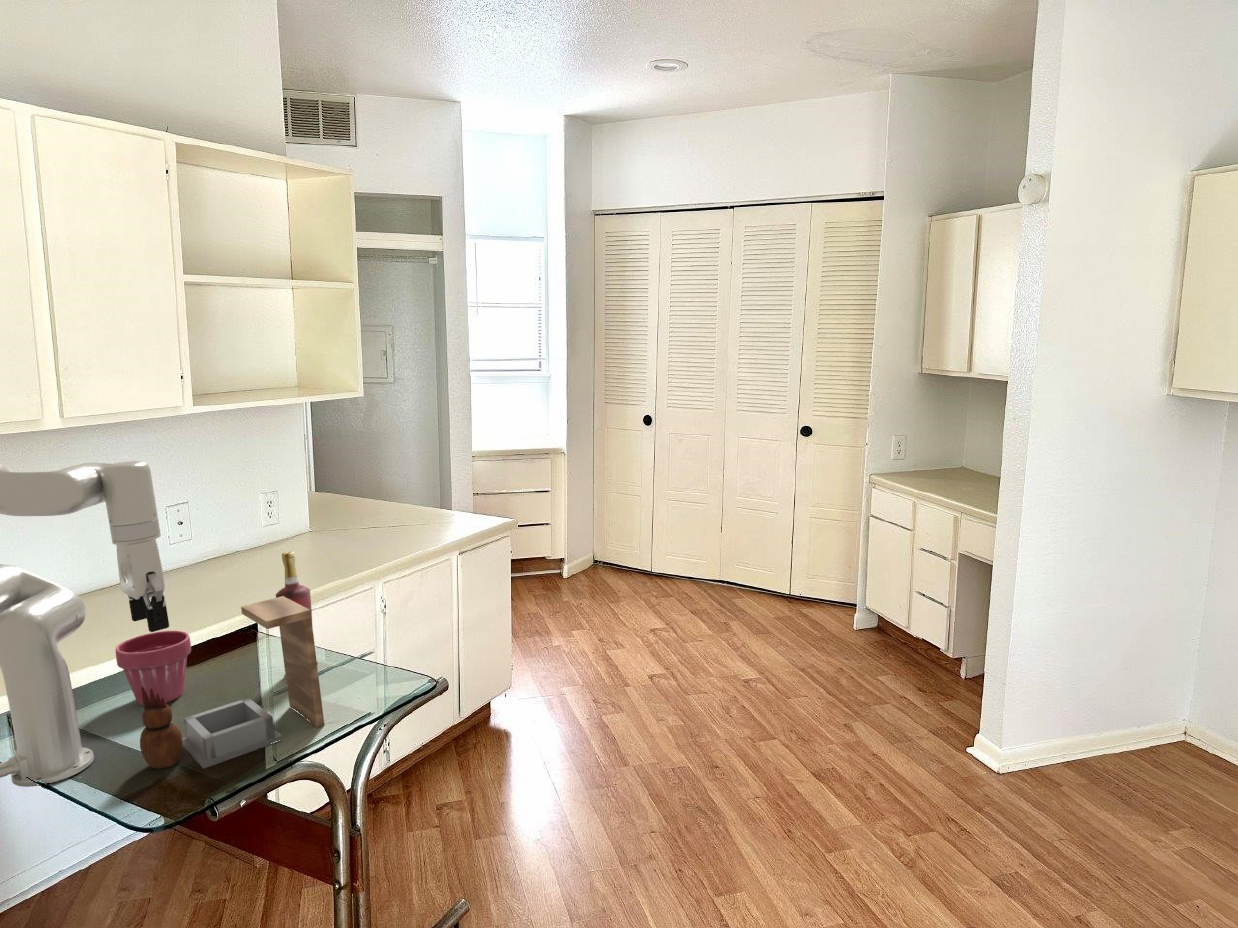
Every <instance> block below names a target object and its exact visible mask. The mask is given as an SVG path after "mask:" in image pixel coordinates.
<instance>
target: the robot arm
mask: <svg viewBox="0 0 1238 928" xmlns="http://www.w3.org/2000/svg"><path fill="white" fill-rule="evenodd" d="M152 477H153V476H152V470H151V468H150V465H149V464H148V463H147V462H145V461H142V460H129V461H128V460H127V461H120V462H115V463H105V462H85V463H84V462H83V463H81V464H76V465H72V466H71V465H70V466H67V467H64V468H60V469H58V470H53V471H51V470H50V471H31V472H30V471H26V472H25V471H24V472H23V471H20V472H17V471H10V470H9V469H8V468H7V467H6V466H4V465H3V464H1V463H0V515H5V516H12V517H46V516H47V517H50V516H51V517H54V516H55V517H57V516H63V515H64V516H66V515H71V514H73V513H76V512H79V511H82V510H84V509H87V508H90V507H93V506H96V505H98V504H102V503H105V507H106V511H107V512H106V513H107V519H108V524H109V531H110V532H109V533H110V536H111V537H110V538H111V542H112V543H111V544H112V545H116V559H117V567H118V576H119V585H120V590H121V592H122V593H124V594H126V595H127V597H128V599H129V600H128V603H129V609H130V615H131V621H133V622H138V621H143V620H146V622H147V628H148V631H149V633H154V632H159V631H162V630H166V629H168V628H169V627H170V621H169V615H168V610H167V602H166V600H165V599H166V598H165V595H164V592H165V590H166V587H165V579H164V578H165V577H164V572H163V567H162V566H163V565H162V562H161V556H160V551H159V547H158V543H157V539H158V538H160V537H161V529H160V523H159V515H158V509H157V504H156V497H155V491H154V485H153V478H152ZM86 608H87V607H86V605H85V603H84V600H83V599H82V598H81V597H80V596H79V594H78V593H76V592H75V591H74V590H71V589H70V588H68V587H66V586H64V585H61V584H59V583H57V582H54V581H52V580H50V579H47V578H45V577H43V576H40V575H38V574H36V573H34V572H31V571H28V570H27V569H23V568H21V567H18V566H15V565H10V564H0V671H1V674H2V677H3V681H4V687H5V692H6V697H7V700H8V705H9V706H8V707H9V711H10V716H11V717H10V718H11V722H12V723H11V724H12V728H13V735H14V739H15V745H16V750H15V751H14V752H13V753H14V756H12V757H8V760H6V761H3V762H0V779H1V778H5V777H7V776H10V779H11V782H12V784H13V785H15V786H18V787H24V788H25V787H27V788H29V787H37V786H41V785H37V784H36V783H34V782H33V781H35V782H38V781H41V782H44V783H50V784H53V783H57V782H59V781H62V780H65V779H68V778H70V777H73V776H74V775H77V774H78V773H80V772H82V771H83V770H85V769H87V768H88V767H89V766H90V765H91V764H92V763H93V761H94V760H95V756H94V752H93V750H91V749H90V748H88V747H83V745H82V741H81V740H82V738H81V734H80V733H81V732H80V726H79V723H78V722H79V721H78V717H77V711H76V704H75V699H74V694H73V693H74V692H73V686H72V680H71V676H70V670H69V667H68V664H67V662H66V659H65V658H64V656H63V655H62V653H61V652H60V650H59V648H58V644H59V643H60V642H61V641H63V640H64V639H65V638H68V637H69V636H70V635H72V634H73V633H75V632H76V631H77V630H78V629H79V628H81V626H82V625H83V623H84V622H85V619H86V616H87V609H86ZM26 777H28V778H30V779H31V780H33V781H31V780H30V779H28V778H26Z"/></svg>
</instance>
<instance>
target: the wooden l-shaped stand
mask: <svg viewBox="0 0 1238 928" xmlns="http://www.w3.org/2000/svg"><path fill="white" fill-rule="evenodd" d="M240 609H241V610H240V611H241V614H242V615H243V616H244V617H246V618H248V619H249V620H251V621H253V622H254V623H255V624H258V625H260V626H261V627H263V628H265V629H266V630H269V629H273V628H277V627H279V634H280V642H281V643H280V644H281V650H282V658H283V664H284V674H285V680H286V681H285V682H286V689H287V690H286V691H287V696H288V705H289V708H290V707H291V708H293V709H295V710H296V711H298V712H299V713H300V714H302V715H303V716H304V717H305V718H306V719H308V720H309V721H310V722H311V723H312V725H313V726H314V727H315V726H316V727H315V728H317V729H318V728H320V727H323V726H325V720H324V719H325V718H324V712H323V711H324V710H323V702H322V695H321V692H322V691H321V686H320V685H321V684H320V679H319V678H320V677H319V670H318V665H317V662H318V661H317V654H316V645H315V635H314V630H313V628H314V627H313V618H312V619H311V611H310V609H308V608H306V607H304V606H302V605H300V604H298V603H296V602H294V601H292V600H290V599H288V598H286V597H284V596H282V597H278V598H276V597H274V598H269V599H265V600H262V601H257V602H254V603H251V604H250V603H249V604H247V605H242V606H240ZM291 708H290V709H291ZM293 709H292V710H293ZM305 718H304V719H305ZM306 719H305V720H306ZM309 721H308V722H309ZM310 722H309V723H310ZM311 723H310V724H311Z"/></svg>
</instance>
